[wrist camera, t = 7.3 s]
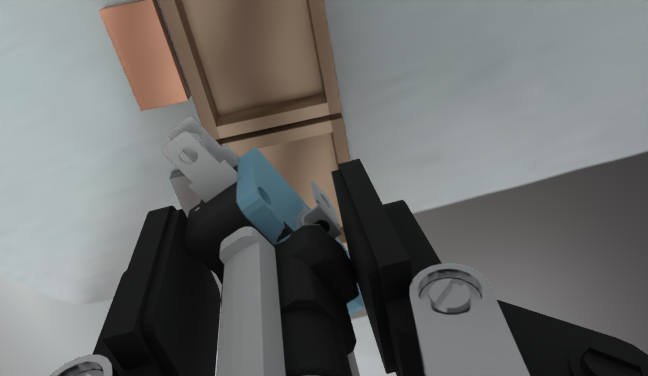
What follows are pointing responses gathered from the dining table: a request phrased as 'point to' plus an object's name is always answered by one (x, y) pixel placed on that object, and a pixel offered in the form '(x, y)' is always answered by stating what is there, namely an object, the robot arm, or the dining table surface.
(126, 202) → the dining table surface
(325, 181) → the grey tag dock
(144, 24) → the terracotta tag dock
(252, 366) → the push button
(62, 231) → the dining table surface
